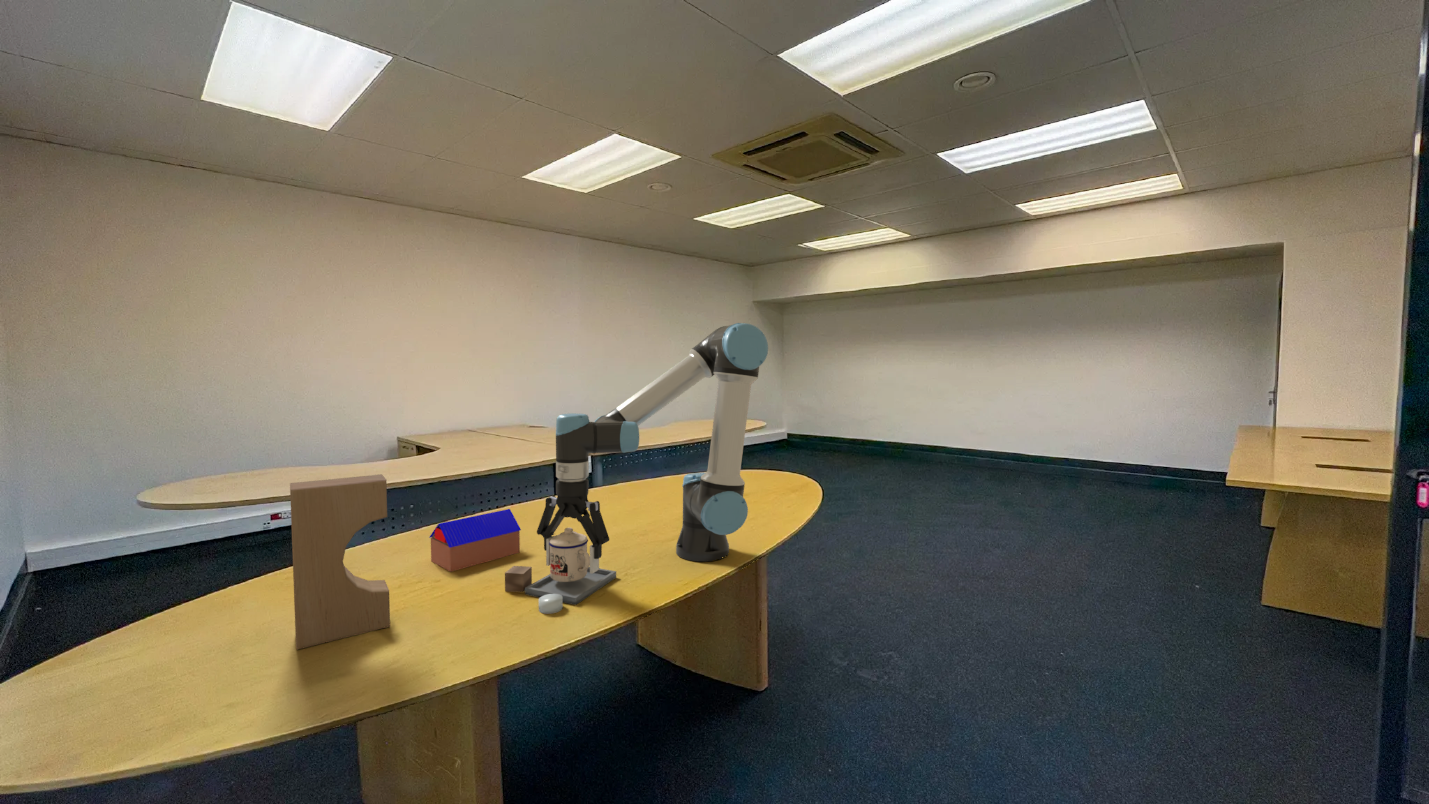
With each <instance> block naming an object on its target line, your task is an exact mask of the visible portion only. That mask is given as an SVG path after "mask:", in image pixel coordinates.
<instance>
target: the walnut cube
mask: <svg viewBox="0 0 1429 804" xmlns="http://www.w3.org/2000/svg"><path fill="white" fill-rule="evenodd" d="M532 568H533V567H532V566H525V565H524V566H522V565H513V566H512V567H510V568H509V569H508V570H507V571H504V591H505V592H512V593H525V587H527V586H529V585H531V584H533V581H532V580H533V579H532V577H533V576H532V574H533V573H532V571H533V569H532Z"/></svg>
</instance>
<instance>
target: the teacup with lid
mask: <svg viewBox="0 0 1429 804" xmlns="http://www.w3.org/2000/svg"><path fill="white" fill-rule="evenodd" d="M553 536H554V537H552V538H551V539H550V542H549V545H550V565H549V567H550V569H549V570H550V573H549V574H550V577H551V578H552V579H553V580H555V581H559V582H572V581H576V580H580V579H582V578H584V577H585V576H586V574H587V569H588V568H589V567H590V553H589V552H588V542H589V538H588V536H586V535H585V534H583V533H579V532H577V531H574V529H573V528H572V527H565V528H564V531H562V532H560V533H559V534H557V535H556V534H555V535H553Z"/></svg>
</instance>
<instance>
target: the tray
mask: <svg viewBox="0 0 1429 804" xmlns="http://www.w3.org/2000/svg"><path fill="white" fill-rule="evenodd" d="M614 579H617V571H616V570H610V569H605V568H600V567H599V570H598V571H596V572H594V573H593V574H592V573H590V566H589V568H588V569H587V574H586V576H585V577H584V578H582V579H580V580H576V581H572V582H559V581H555V580H553V579H552V578H551V577H550V573H549V574H547V575H545V576H544V577H542V578H540V579H538V580H536V581H535V582H532V584H531V585H529V586H527V587H525V591H524V595H525V596H530V597H535V598H538V599H539V598H540V597H542V596H544V595H547V594H559V595H561V596H562V597H563V603H564V604H569V605H573V606H576V605H578V604H579V603H581V602H582V601H584V600H585V599H586V598H587V599H588V597H590V596H591V595H593V594H594V593H595V592H597V591H599V590H600V589H602V588H603V587H604V586H606V585H607V584H609V583H610V582H612V581H613V580H614Z"/></svg>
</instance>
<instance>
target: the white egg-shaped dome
mask: <svg viewBox="0 0 1429 804" xmlns="http://www.w3.org/2000/svg"><path fill="white" fill-rule="evenodd" d="M562 610H563V597H562V596H561V595H559V594H547V595H544V596H542V597H540V598H539V597H538V611H539V613H541V614H545V615H546V614H548V615H550V614H555V613H559V612H561V611H562Z"/></svg>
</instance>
